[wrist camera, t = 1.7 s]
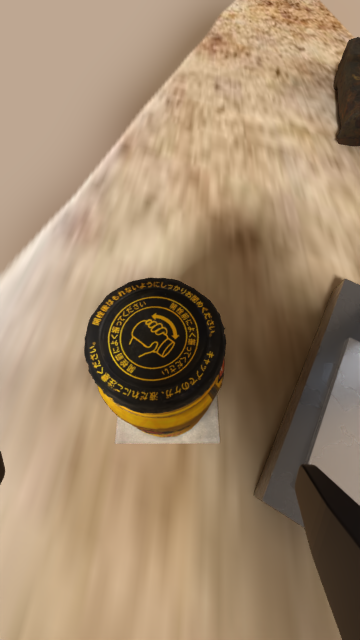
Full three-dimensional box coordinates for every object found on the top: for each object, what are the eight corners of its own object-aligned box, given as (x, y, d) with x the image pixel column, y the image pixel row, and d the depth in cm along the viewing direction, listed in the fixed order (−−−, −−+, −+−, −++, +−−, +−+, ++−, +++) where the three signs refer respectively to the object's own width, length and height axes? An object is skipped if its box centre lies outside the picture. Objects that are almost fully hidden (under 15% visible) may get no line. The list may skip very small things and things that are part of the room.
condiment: (115, 443, 19) (35, 435, 8) (125, 332, 23) (79, 224, 12) (219, 443, 19) (276, 435, 8) (213, 332, 23) (246, 225, 12)
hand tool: (365, 151, 34) (393, 109, 30) (333, 146, 34) (355, 103, 30) (356, 76, 42) (377, 34, 38) (330, 72, 42) (347, 30, 38)
